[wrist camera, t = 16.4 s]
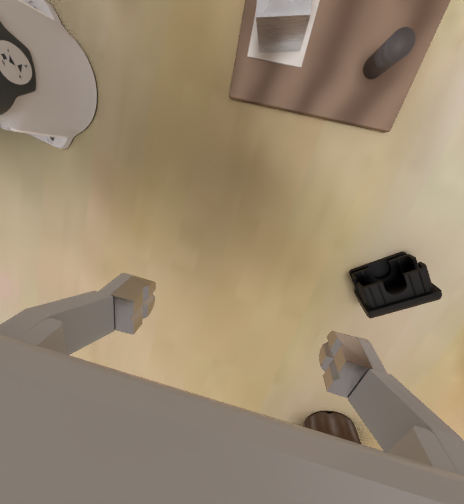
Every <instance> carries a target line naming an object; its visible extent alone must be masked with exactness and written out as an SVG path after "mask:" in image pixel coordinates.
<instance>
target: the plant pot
mask: <svg viewBox="0 0 464 504" xmlns="http://www.w3.org/2000/svg"><path fill="white" fill-rule="evenodd" d="M305 427H306V428H309V429H312V430H316V431H319V432H322V433H325V434H329V435H332V436H335V437H339V438H342V439H345V440H348V441H352V442H355V443H358V444H361V442H360V439H359V437H358V434H357V431H356V428H355V426H354V424H353V422H352V421H351V420H350V419H349V418H347V417H346V416H344V415H342V414H339V413H335V412H332V413H331V414H329V413H326V412H324V411H323V412H318V413H315V414H312V415H310V416H309V417H308V418H307V419H306V421H305ZM361 445H362V444H361Z"/></svg>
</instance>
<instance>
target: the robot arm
mask: <svg viewBox="0 0 464 504" xmlns="http://www.w3.org/2000/svg"><path fill="white" fill-rule="evenodd" d="M96 104H97V89H96V82H95V78H94V74H93V71H92V68H91V65H90V63H89V61H88V59H87V57H86V55H85V53H84V52H83V50H82V48H81V47H80V46H79V44H78V43H77V42H76V41H75V39H74V38H73V37H72V36H71V35H70V34H69V33H68V32H67V31H66V30H65V28H64V27H63V26H62V24H61V21H60V19H59V17H58V15H57V14H56V12H55V10H54V8H53V7H52V5H51V4H50V3H49V2H47V1H45V0H0V127H1V128H2V129H4V130H8V131H15V132H20V133H26V134H29V135H31V136H33V137H35V138H37V139H39V140H41V141H44V142H46V143H48V144H50V145H52V146H54V147H57V148H60V149H67V148H68V147H69V145H70V144H71V142H72V140H73V138H74V137H75V136H76V135H77V134H79V133H80V132H82V131H83V130H85V129H86V128H87V127H88V125H89V124H90V123H91V121H92V119H93V116H94V114H95V110H96ZM155 289H156V283H155V282H154V281H150V280H147V279H144V278H140V277H137V276H133V275H130V274H126V273H122V274H120V275H119V276H117V277H116V278H115V279H114V280H112V281H111V282H110V283H108V284H107V285H106V286H105V287H103V288H102V289H101V290H99V291H98V292H97V291H92V292H88V293H84V294H81V295H77V296H73V297H69V298H65V299H62V300H58V301H54V302H50V303H47V304H43V305H39V306H35V307H31V308H28V309H25V310H23V311H22V312H20V313H18V314H17V315H15V316H14V317H12V318H10V319H9V320H7V321H6V322H4V323H2V324H1V325H0V504H464V441H463V439H462V438H461V437H460V436H459V435H458V434H457V433H455V432H454V431H453V430H452V429H451V428H450V427H449V426H448V425H447V424H445V423H444V422H443V421H442V420H441V419H440V418H439V417H438V416H437V415H435V414H434V413H433V412H432V411H431V410H430V409H429V408H428V407H427V406H426V405H424V404H423V403H422V402H421V401H420V400H419V399H418V398H417V397H416V396H414V395H413V394H412V393H411V392H410V391H409V390H408V389H407V388H406V387H404V386H403V385H402V384H401V383H400V382H399V381H398V380H397V379H396V378H394V377H393V376H392V375H391V374H387V372H386V370H385V368H384V366H383V365H382V363H381V361H380V359H379V357H378V356H377V354H376V352H375V350H374V348H373V346H372V345H371V343H370V342H369V341H368V340H366V339H362V338H358V337H353V336H349V335H346V334H342V333H338V332H335V331H331V332H330V333H329V334H328V336H327V339H328V342H327V343H325V344H323V345H322V347H321V349H320V354H319V361H320V366H321V368H322V369H323V370H324V371H325V373H324V375H323V378H324V382H325V386H326V390H327V392H330V393H333V394H336V395H340V396H343V397H346V398H348V401H349V402H350V403H351V405H352V406H353V408H354V409H355V411H356V412H357V413H358V415H359V416H360V418H361V419H362V421H363V422H364V423H365V425H366V426H367V428H368V429H369V430H370V432H371V433H372V435H373V436H374V438H375V439H376V440H377V442H378V443H379V445H380V446H381V448H382V449H383V450H384V451H381V450H378V449H375V448H371V447H368V446H365V445H361V444H358V443H355V442H352V441H348V440H345V439H342V438H339V437H335V436H332V435H329V434H325V433H322V432H319V431H316V430H312V429H309V428H306V427H302V426H299V425H296V424H292V423H289V422H286V421H283V420H279V419H276V418H273V417H269V416H266V415H263V414H260V413H256V412H253V411H250V410H246V409H243V408H240V407H237V406H233V405H230V404H227V403H224V402H220V401H217V400H214V399H210V398H207V397H204V396H201V395H197V394H194V393H191V392H187V391H184V390H181V389H178V388H174V387H171V386H168V385H165V384H161V383H158V382H155V381H151V380H148V379H145V378H142V377H138V376H135V375H132V374H128V373H125V372H122V371H119V370H115V369H112V368H109V367H105V366H102V365H99V364H96V363H92V362H89V361H86V360H82V359H79V358H76V357H73V356H69V355H70V354H72V353H74V352H76V351H77V350H79V349H81V348H83V347H85V346H87V345H89V344H91V343H93V342H94V341H96V340H98V339H100V338H102V337H104V336H106V335H108V334H110V333H111V332H113V331H114V330H117V331H121V332H125V333H129V334H133V335H134V334H135V332H136V331H137V330H138V328H139V327H140V326H141V325H142V319H143V318H146V317H148V315H149V314H150V313H151V311H152V308H153V306H154V302H155V296H154V295H153V292H154V291H155Z"/></svg>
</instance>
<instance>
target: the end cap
mask: <svg viewBox="0 0 464 504" xmlns="http://www.w3.org/2000/svg"><path fill="white" fill-rule="evenodd" d="M418 266H419V267H418ZM349 274H350V276H351V278H352V281H353V283H354V286H355V288H356V290H355V291H354V292H355V294H356V296H357V298H358V300H359V302H360V304H361V306H362V308H363V310H364V312H365V313H366V315H367V316H368V317H369V318H374V317H378V316H381V315H385V314H388V313H392V312H396V311H399V310H403V309H407V308H410V307H414V306H418V305H421V304H425V303H428V302H432V301H436V300H439V299H440V298H441V296H442V293H441V290H440V289H439V288H438V287H436V286H435V285H434V284H433V283H431V280H430V277H429V273H428V270H427V266H426V265H425V264H424V263H422V262H419V263H418V264H417V260H416V257H413V256H412V255H409V254H406V253H405V252H399V253H396V254H394V255H391V256H388V257H385V258H382V259H380V260H377V261H374V262H371V263H368V264H365V265H363V266H360V267H357V268H354V269H351V270H350V271H349Z"/></svg>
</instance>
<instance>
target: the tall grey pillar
mask: <svg viewBox="0 0 464 504" xmlns="http://www.w3.org/2000/svg"><path fill="white" fill-rule="evenodd" d="M311 8H312V0H257V6H256V24H257V34H258V44H259V52H292V51H300V50H301V47H302V43H303V40H304V36H305V33H306V29H307V26H308V22H309V19H310V15H311Z"/></svg>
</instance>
